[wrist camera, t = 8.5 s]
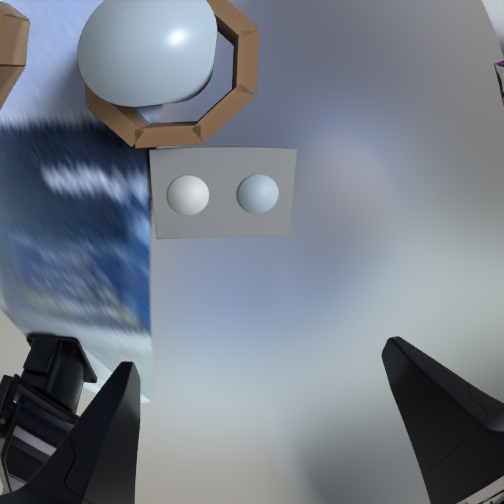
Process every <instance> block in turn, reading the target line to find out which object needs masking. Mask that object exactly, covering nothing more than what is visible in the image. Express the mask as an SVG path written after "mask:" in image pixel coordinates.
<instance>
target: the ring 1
mask: <svg viewBox="0 0 504 504" xmlns="http://www.w3.org/2000/svg"><path fill="white" fill-rule="evenodd" d="M28 21H29V19H27V18H26V17H25V16H24V15H22V14H21V13H20V12H19V11H17V10H16V9H15V8H13V7H12V6H11V5H10V4H7V3H4V2H0V109H1V108H2V106H3V104H4V102H5V100H6V98H7V97H8V95H9V93H10V91H11V90H12V88H13V86H14V85H15V83H16V81H17V80H18V78H19V76H20V75H21V73H22V72H23V70H24V69H25V68H24V67H23V66H25V65H26V53H27V41H28V32H29V24H30V22H28Z"/></svg>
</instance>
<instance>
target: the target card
mask: <svg viewBox="0 0 504 504" xmlns="http://www.w3.org/2000/svg"><path fill="white" fill-rule="evenodd" d="M149 151H150V170H151V185H152V198H153V209H154V219H155V228H156V237H157V239H180V238H209V237H247V236H289V231H290V220H291V211H292V201H293V190H294V179H295V168H296V157H297V149H296V148H278V147H235V146H232V147H231V146H230V147H229V146H228V147H184V148H166V149H165V148H164V149H150V150H149Z"/></svg>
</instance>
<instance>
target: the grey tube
mask: <svg viewBox="0 0 504 504" xmlns="http://www.w3.org/2000/svg"><path fill="white" fill-rule="evenodd" d="M216 40H217V24H216V18H215V16H214V13H213V10H212V9H211V7H210V5H209V3H208V2H207V1H206V0H105V1H104V2H103V3H101V4H100V5H99V6H98V7H97V9H96V10H95V11H94V12H93V13H92V15H91V16H90V17H89V19H88V21H87V22H86V24H85V26H84V28H83V30H82V33H81V36H80V39H79V43H78V51H77V54H78V65H79V69H80V72H81V75H82V77H83V79H84V81H85V83H86V84H87V85H88V87H89V88H90V89H91V90H92V91H93V92H94V93H95V94H96V95H98V96H99V97H100V98H102V99H104V100H106V101H108V102H111V103H114V104H117V105H121V106H130V107H137V106H148V105H157V104H167V103H178V102H183V101H186V100H189V99H191V98H193V97H195V96H196V95H198V94H199V93H200V92H201V91H202V90H203V89H204V88H205V87H206V85H207V84H208V82H209V81H210V78H211V76H212V72H213V64H214V56H215V48H216Z"/></svg>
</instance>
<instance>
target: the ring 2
mask: <svg viewBox="0 0 504 504" xmlns="http://www.w3.org/2000/svg"><path fill="white" fill-rule="evenodd" d="M206 1H207V2H208V3H209V5H210V7H211V9H212V10H213V13H214V16H215V18H216V24H217V31H218V32H220V33H221V34H222V35H223V36H224V37H225V38H226V39H227V40H228V41H229V42H231V43H232V44H233V45H234V54H233V55H234V56H233V78H232V90H231V91H229V92H228V93H227V94H226V95H225V96H224V97H223V98H222V99H221V100H220V101H219V102H217V103H216V104H215V105H214V106H213V107H212V108H211V109H210V110H209V111H208V112H207V113H206V114H205V115H204V116H202V117H201V118H200V119H199V120H198V121H195V122H172V123H156V124H151V123H149V122H148V121H147V120H146V119H145V118H144V117H143V116H142V115H140V114H139V113H138V112H137V111H136V110H135V109H134V108H133V107H130V106H121V105H117V104H114V103H111V102H108V101H106V100H104V99H102V98H100V97H99V96H98V95H96V94H95V93H94V92H93V91H92V90H91V89H90V88H89V87H88V85H87V84H86V104H90V105H89V106H88V109H89V110H90V111H91V112H92V113H94V114H95V115H96V116H97V117H98V118H99V119H100V120H101V121H103V122H104V123H105V124H106V125H107V126H108V127H109V128H110V129H112V130H113V131H114V132H115V133H116V134H117V135H118V136H120V137H121V138H122V139H123V140H124V141H125V142H126V143H127V144H129V145H130V146H131V147H132V146H134V145H135V148H145V147H159V146H175V145H201V141H202V140H203V141H204V142H206V141H207V140H208V139H209V138H210V137H211V136H212V135H213V134H215V133H216V132H217V131H218V130H219V129H220V128H221V127H222V126H223V125H224V124H225V123H226V122H227V121H228V120H229V119H231V118H232V117H233V116H234V115H235V114H236V113H237V112H238V111H239V110H241V109H242V108H243V107H244V106H245V105H246V104H247V103H248V102H249V101H251V100H252V99H253V98H254V96H253V95H252V94H255V93H257V73H258V50H259V32H257V31H256V30H257V27H256V26H255V25H254V24H253V23H252V22H251V21H250V20H249V19H248V18H246V17H245V16H244V15H243V14H242V13H241V12H240V11H239V10H238V9H236V8H235V7H234V6H233V5H232V4H231V3H230V2H228V1H227V0H206Z"/></svg>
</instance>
